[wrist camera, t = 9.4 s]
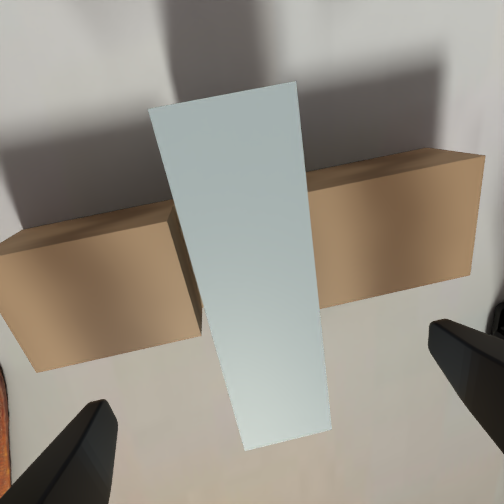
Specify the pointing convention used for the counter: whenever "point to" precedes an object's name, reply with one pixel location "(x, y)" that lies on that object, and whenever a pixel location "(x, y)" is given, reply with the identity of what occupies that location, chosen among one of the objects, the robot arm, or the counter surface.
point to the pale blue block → (252, 252)
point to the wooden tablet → (4, 440)
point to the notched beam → (182, 274)
